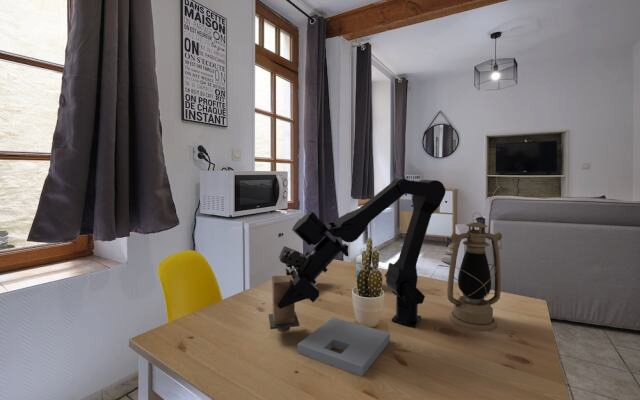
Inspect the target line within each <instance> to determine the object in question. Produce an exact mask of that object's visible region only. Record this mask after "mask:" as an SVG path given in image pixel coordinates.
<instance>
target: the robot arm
mask: <svg viewBox="0 0 640 400" xmlns="http://www.w3.org/2000/svg"><path fill="white" fill-rule="evenodd" d="M407 194H408V195H412V198H411V201H412V207H413V211H412V214H411V218H410V221H409V224H408V228H407V231H406V233H405V235H404V236H405V237H404V240H403V243H402V245H401V246H402V247H401V251H400V254H399V257H398V259H397V260H396V261H395V262H394V263H391V262H389V263H388V267H387V270H386V271H387V272H386V273H385V274H384V277H386V278H385V284H386V285H387V287H388V288H389V289H390V290H391V292H392V295H395V297H396V299H395V314H394V316H393V317H392V318H391V322H393V323H398V324H401V325H405V326H409V327H413V328H414V327H416V326H417V325H418V323H419V322H420V321H421V320H422V316H421V315H418V312H419V311H418V310H419V309H418V307H419V305H420V304H421V305H422V304H423V303H424V300H425V298H426V296H425V294H424V293H422V292H421V290H419V289H418V288H417V285H418V270H417V263H418V260H419V257H420V254H421V251H422V247H423V243H424V241H425V238H426V237H425V236H426V234H427V230H428V227H429V225H430V221H431V218H432V215H433V214H434V213H435V211H436V210H437V209H438V208H439V207H440V206H441V204H442V202H443V199H444V198H445V195H446V188H445V186H444V183H443V182H441V181H440V180H438V179H437V180H435V179H420V180H419V181H418V180H417V181H416V180H410V179H407V178H398V177H397V178H394V179H393V180H392V181H391V182H390V183H388V185H386V186H385V188H383V189H382V190H380V191H379V192H378V193H376V195H374V196H373V197H371V198H370V199H369V200H367V201H366V202H365V203H364V204H363V205H361V206H360V207H358V208H357V209H355V210H352V211H350V212H347V213H345V214H343V215H342V216H339V217H338V218H336V220H335V221H332V222H322V220H321V219H320V218H318V216H317V215H316V214H315V213H314V212H313V211H311V210H310V211H309V212H308V213H307V214H305V215H304V216H302V217H300V218H299V219H298V220H297V221H296V222H295V224H294V225H293V227H292V229H291V230H292V232H293V233H295V234H296V236H297V237H298V238H299V239H301V240H302V241H303V242H304V243H305V244H306V245H308V246H311V245H313V246H314V247H313V248H312V249H311V250H310V251H309V250H305V252H303V253H302V252H300V251H297V250H295V249H293V248H290V247H288V246H283V248H282V250H281V252H280V254H279V256H278V259H279V261H280V263H282V264H285V267H286V268H285V275H292V277H293V281H292V280H291V279H290V288H289V289H288V291H287V292H286V294H285V295H284V296H283V298H282V299H281V301H280V302H279V304H278V305H277V306H278V307H279V308H280V309H281V308H284V307H286V306H289V305H291V304H293V303H295V304H296V303H298V302H301V301H304V300H310V302H312V303H315V301H317V299H318V298H320V291H319V289H318V286H317V285H314V284H315V283H316V280H315V279H316V278H317V279H318V277H319V276H320V275H321V274H322V273H323V272H324V273H326V272H327V271H328V268H327V267H328V266H329V265H330V264H331V263H332V262H333V261H334V260H335V259H336V257H338V255H339V254H340V253H342V254H343V255H344V256H345V257H348V256H350V255H349V245H348V244H347V243H354V242H355V241H357V240H358V239H359V238H360V237H361V235H362V234H363V233H364V232H365V231H366V229H368V226H369V224H370V223H371V222H372V221H373V220H374V219H375V218H377V216H379V215H380V214H382V213H383V212H385V210H387V208H389V207H390V206H391V205H393V204H394V203H395V202H397V200H399V199H401V198H402V197H403V196H404V195H407ZM326 233H328V234H330V235H331V236H332V237H330V236H329V235H327V234H326ZM338 238H339V239H340V240H342V241H343V242H345V243H342V242H341V241H340V240H339V239H338ZM288 268H289V269H288Z"/></svg>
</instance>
